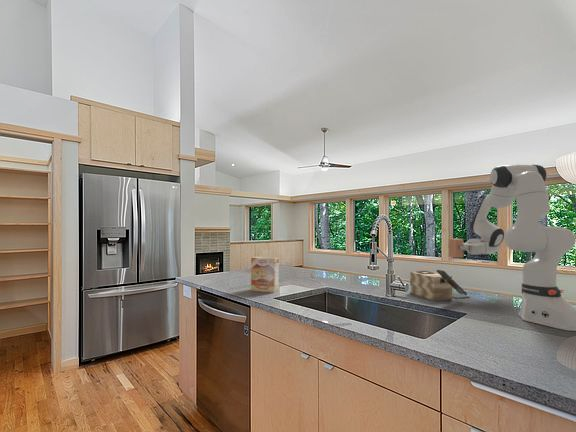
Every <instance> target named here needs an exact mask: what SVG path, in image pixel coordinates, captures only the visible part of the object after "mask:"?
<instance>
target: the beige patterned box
mask: <svg viewBox="0 0 576 432" xmlns="http://www.w3.org/2000/svg"><path fill="white" fill-rule="evenodd" d="M409 273H410V274H409V275H410V276H409V277H410V278H409V281H410V282H409V285H410V287H409V289H410V294H412V295H416V296H419V297H421V298H425V299H428V300H431V301H442V300H443V301H444V300H452V299H453V298H452V293H453V287H452V286H451V285H450V284H449V283H445V282H442V280H443V279H444V278H443V277H442V276H441V275H440V274H439V273H438V272H435V271H429V270H416V271H410V272H409ZM449 276H450V277H451V278H452V279H453V276H452V275H449Z"/></svg>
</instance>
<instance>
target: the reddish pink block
mask: <svg viewBox="0 0 576 432" xmlns="http://www.w3.org/2000/svg"><path fill="white" fill-rule="evenodd" d="M448 243H449V248H448V257H449V258H456V259H457V258H464V250H463V249H459V247H458V246H463V243H464V238H448Z"/></svg>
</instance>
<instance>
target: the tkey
mask: <svg viewBox="0 0 576 432" xmlns="http://www.w3.org/2000/svg"><path fill="white" fill-rule="evenodd" d="M436 273H439V274H440V275H441V276H442V277H443V278H444V279H443V280H442V282H445V283H449V284H450V285H451V286H452V289H454V290H455V291H456V293H458V294H462V295H466V296H468V293H467V292H466V291H465V289H463V288H462V287H461V286H460V284H458V283H457V282H456V281H455V280H454V279H453V277H452V278H451V277H450V276H451V275H449V274H448V273H447V272H446V271H445V270H440V269H436Z"/></svg>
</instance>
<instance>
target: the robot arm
mask: <svg viewBox="0 0 576 432" xmlns="http://www.w3.org/2000/svg"><path fill="white" fill-rule="evenodd" d="M547 174H548V173H547V171H546V168H545V167H544V166H543V165H539V164H519V163H518V164H508V165H507V164H506V165H499V166H495V167H493V168H492V170H491V172H490V175H489V177H490V183H491V184H492V186H491V188H490V192H489V193H488V194H486V195H485V196H484V197H483V198H482V199H481V201H480V203H479V206H478V208H477V210H476V213H475V215H474V217H473V218H472V220H471V221H470V223H469V229H470V231H471V233H474V234H475V235H478V236H479V237H480V238H469V239H468V240H467V241H466V242H463V246H458V247H459V249H463V251H466V252H467V253H468V254H469V255H471V256H472V255H489V254H490V255H491V254H492V255H493V254H495V253H498V252H499V251H500V250H501V248H502V242H503V241H504V244H505V246H506V247H507V248H508V249H509V250H512V251H516V252H522V253H535V255H534V256H533V258H532V259H531V260H528V261H526V262H524V264H523V265H522V282H521V294H522V296H521V303H520V305H521V306H520V308H519V312H518V316H519V317H520V319H521V320H522V321H526V322H528V323H529V322H530V323H533V324H534V323H535V324H538V325H542V326H546V327H551V328H554V329H558V330H559V329H560V330H563V331H569V332H571V331H573V332H574V331H575V332H576V307H575V306H573V305H572V304H571V303H570V302H568V301H567V300H566V299H565V298H564V297H562V294H561V293H563V294H564V291H565V289H560V288H559V287H558V286H557V271H558V265H559V263H560V261H561V259H562V258H563V257H564V256H565V254H566V253H568V252H569V251H570V250H572V249H573V248H574V246H575V245H576V236H575V233H574V232H573V231H572V230H571V229H569V228H565V227H562V226H561V227H560V226H553V225H552V226H541V225H540V220H541V219H543V217H546V216H547V215H548V214H549V213H550V210H551V207H550V200H549V196H548V190H547V186H546V183H545V182H546V180H547ZM515 200H516V209H517V210H516V212H517V214H516V219H515V222H514V223H513V225H512V226H510V227H509V228H508V229H507V230H506V231H504V229H502V228H501V227H499V226H498V225H496V224H494V223H493V222H491V221H490V220H488V217H487V216H488V214H489V212H490V210H491V208H494V209H495V208H496V209H502V208H506V207H509V206H511V205H512V204H513V203H514V201H515ZM447 248H448V249H449V242H448V243H447Z"/></svg>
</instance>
